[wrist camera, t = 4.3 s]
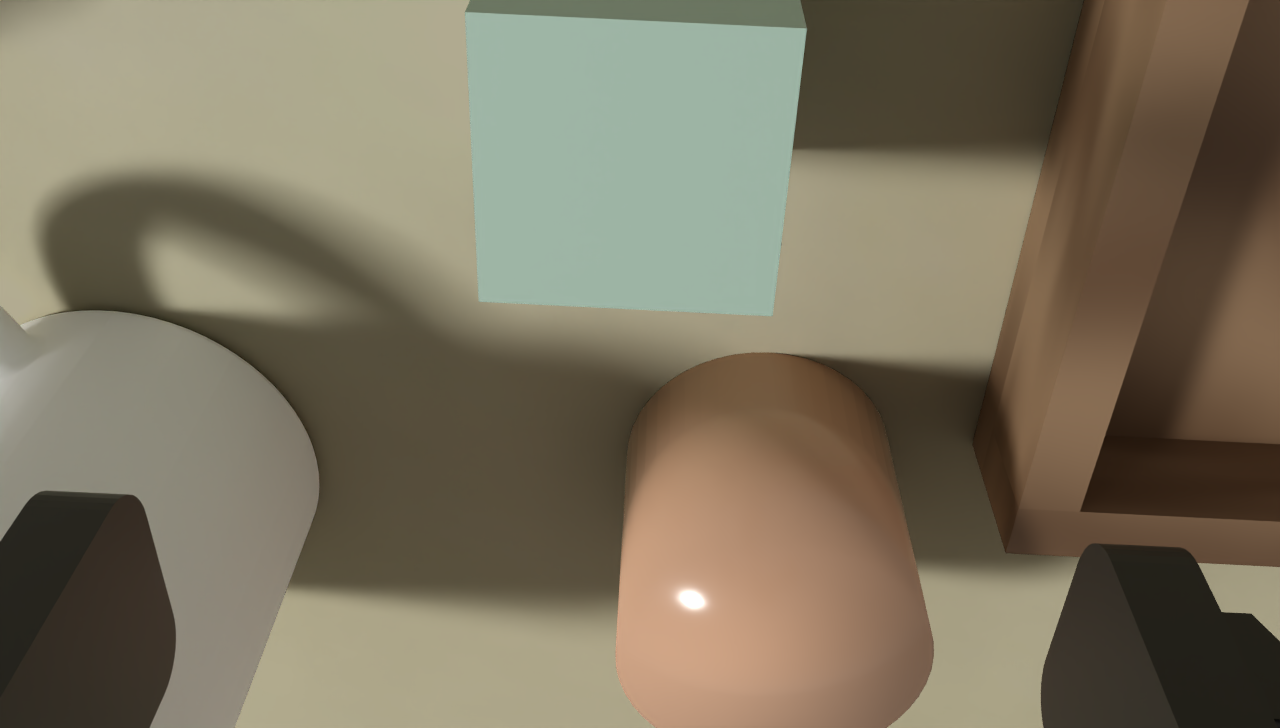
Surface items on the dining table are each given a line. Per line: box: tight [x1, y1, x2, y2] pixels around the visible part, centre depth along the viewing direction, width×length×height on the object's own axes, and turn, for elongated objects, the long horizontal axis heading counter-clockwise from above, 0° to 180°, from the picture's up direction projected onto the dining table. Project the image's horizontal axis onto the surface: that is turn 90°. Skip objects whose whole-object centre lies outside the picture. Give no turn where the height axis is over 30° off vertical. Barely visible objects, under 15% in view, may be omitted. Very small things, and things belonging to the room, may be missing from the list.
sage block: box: [465, 0, 807, 316], centre depth 20 cm, size 4×4×6 cm
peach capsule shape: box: [616, 353, 934, 728], centre depth 25 cm, size 6×6×6 cm
